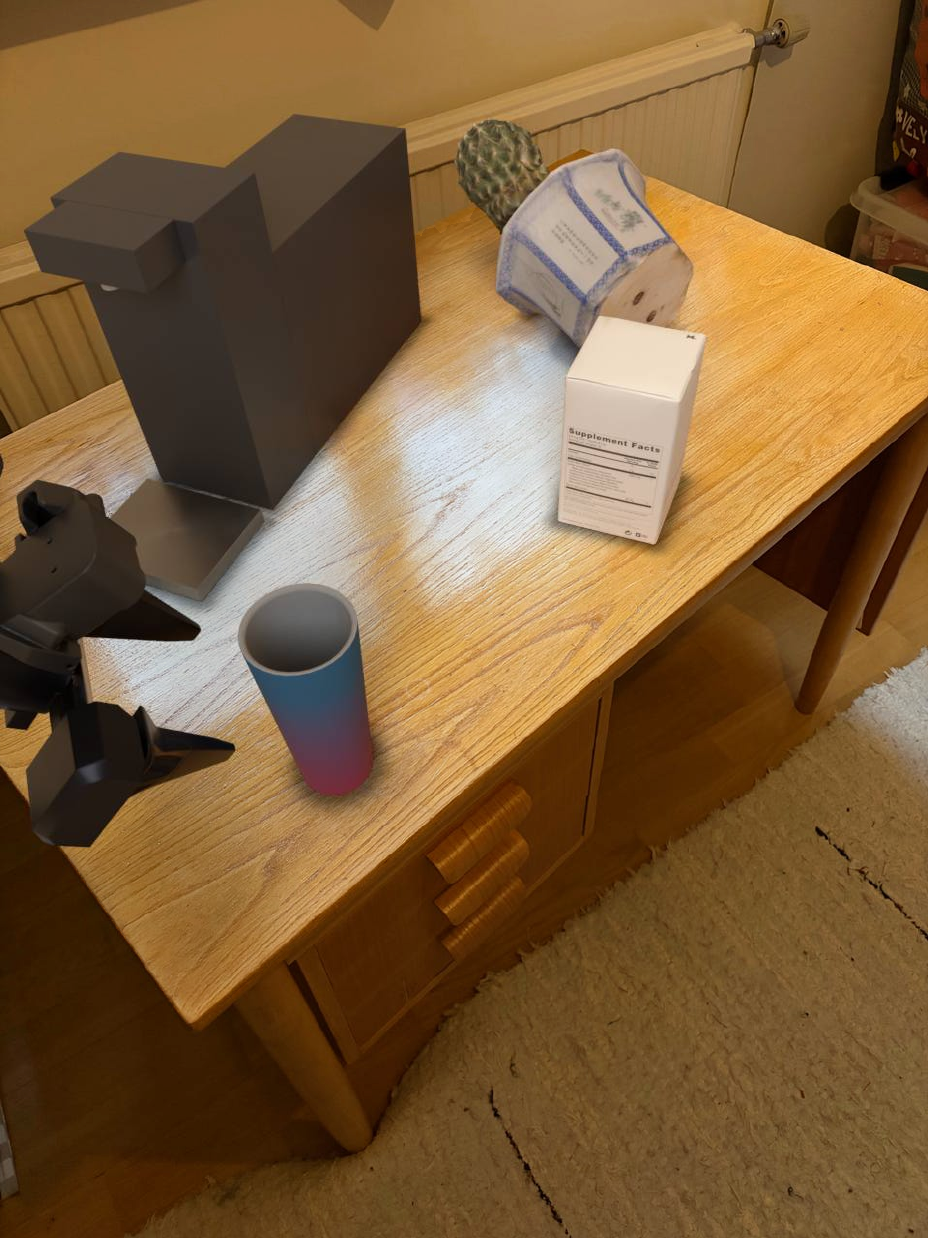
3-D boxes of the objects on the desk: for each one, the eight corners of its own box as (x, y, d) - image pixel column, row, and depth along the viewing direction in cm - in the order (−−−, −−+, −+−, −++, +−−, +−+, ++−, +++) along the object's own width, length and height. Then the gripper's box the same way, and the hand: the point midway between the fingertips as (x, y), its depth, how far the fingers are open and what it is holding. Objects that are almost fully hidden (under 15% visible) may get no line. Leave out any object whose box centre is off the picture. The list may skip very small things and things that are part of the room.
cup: (340, 826, 58) (299, 696, 47) (268, 773, 61) (212, 638, 49) (405, 754, 61) (382, 616, 50) (334, 707, 64) (296, 566, 53)
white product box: (585, 458, 81) (598, 310, 70) (681, 480, 79) (710, 331, 67) (553, 522, 76) (561, 374, 64) (655, 548, 73) (682, 398, 62)
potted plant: (743, 207, 81) (553, 35, 91) (589, 276, 76) (406, 86, 86) (689, 345, 97) (532, 185, 107) (558, 410, 91) (406, 235, 102)
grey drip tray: (202, 601, 71) (196, 589, 70) (83, 564, 75) (76, 552, 73) (264, 521, 77) (261, 509, 76) (152, 490, 80) (147, 477, 79)
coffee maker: (246, 544, 75) (153, 254, 56) (132, 511, 79) (5, 226, 59) (421, 321, 97) (399, 54, 77) (326, 302, 100) (281, 42, 80)
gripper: (-2, 664, 31) (341, 726, 42) (-27, 381, 42) (249, 488, 53) (-117, 846, 35) (221, 860, 46) (-112, 546, 47) (159, 613, 57)
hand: (213, 689), depth 51 cm, fingers open, 9 cm apart
